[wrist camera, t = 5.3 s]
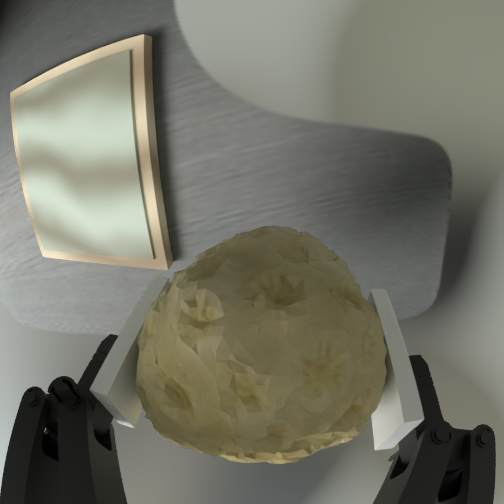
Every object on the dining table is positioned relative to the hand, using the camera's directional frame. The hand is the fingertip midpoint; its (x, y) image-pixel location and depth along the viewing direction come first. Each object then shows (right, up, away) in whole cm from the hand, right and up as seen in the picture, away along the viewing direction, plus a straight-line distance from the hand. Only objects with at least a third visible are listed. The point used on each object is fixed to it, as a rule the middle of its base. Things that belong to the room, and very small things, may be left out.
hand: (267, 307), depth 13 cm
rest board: (-15, +10, +6) cm, 19 cm away
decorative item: (0, 0, 0) cm, 1 cm away
